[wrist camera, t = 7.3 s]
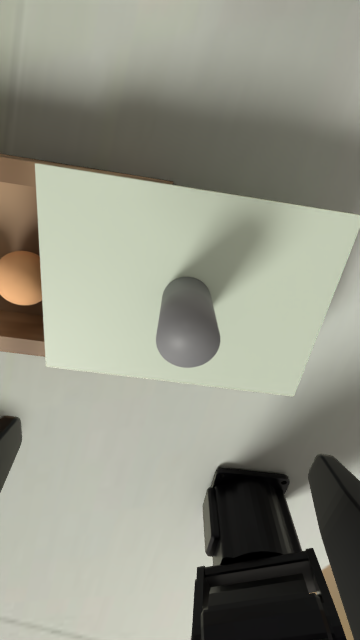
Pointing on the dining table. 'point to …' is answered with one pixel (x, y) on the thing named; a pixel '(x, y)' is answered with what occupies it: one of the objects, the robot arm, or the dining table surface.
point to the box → (25, 247)
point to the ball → (21, 278)
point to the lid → (184, 280)
